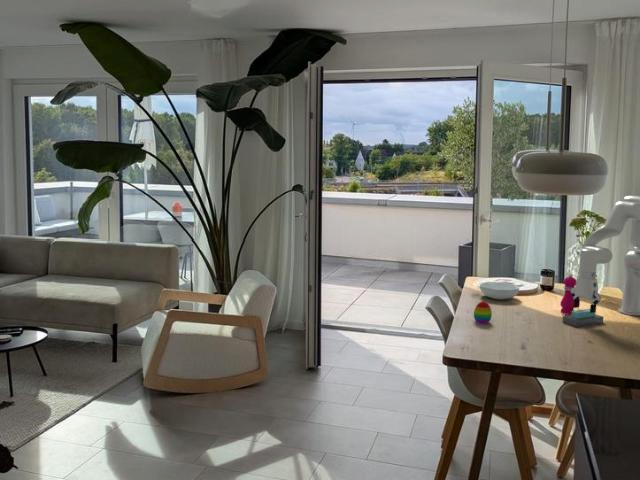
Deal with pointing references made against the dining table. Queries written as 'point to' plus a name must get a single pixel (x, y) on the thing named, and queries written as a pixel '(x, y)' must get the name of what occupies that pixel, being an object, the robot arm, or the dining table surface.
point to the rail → (582, 320)
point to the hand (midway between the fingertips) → (584, 309)
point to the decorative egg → (482, 312)
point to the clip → (582, 314)
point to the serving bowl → (499, 290)
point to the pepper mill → (568, 295)
